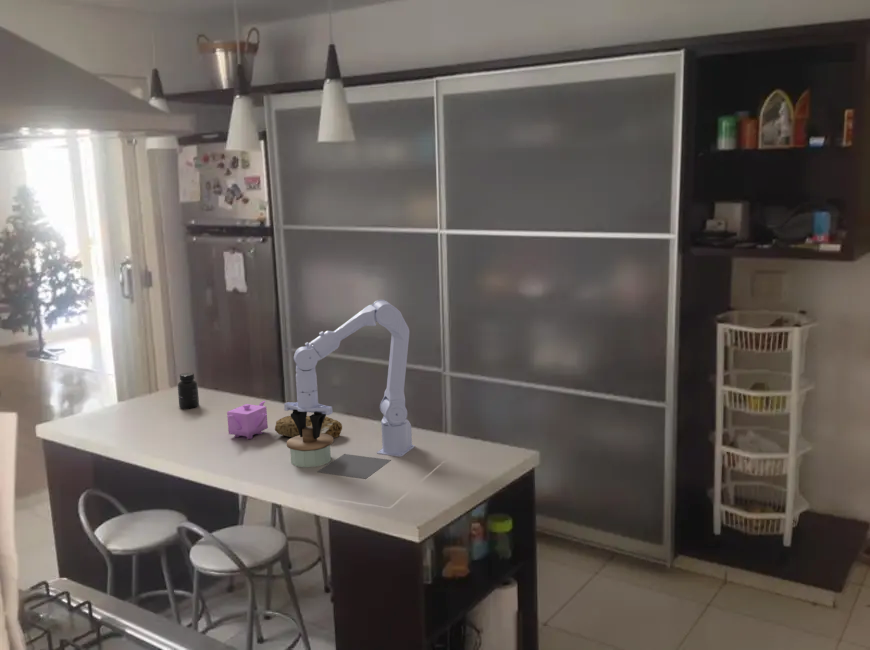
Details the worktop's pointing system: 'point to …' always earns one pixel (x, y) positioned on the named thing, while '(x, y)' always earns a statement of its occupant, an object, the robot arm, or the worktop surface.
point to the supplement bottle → (188, 391)
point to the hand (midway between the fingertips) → (309, 436)
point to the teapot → (247, 420)
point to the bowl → (310, 457)
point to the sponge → (290, 429)
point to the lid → (309, 440)
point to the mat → (354, 466)
